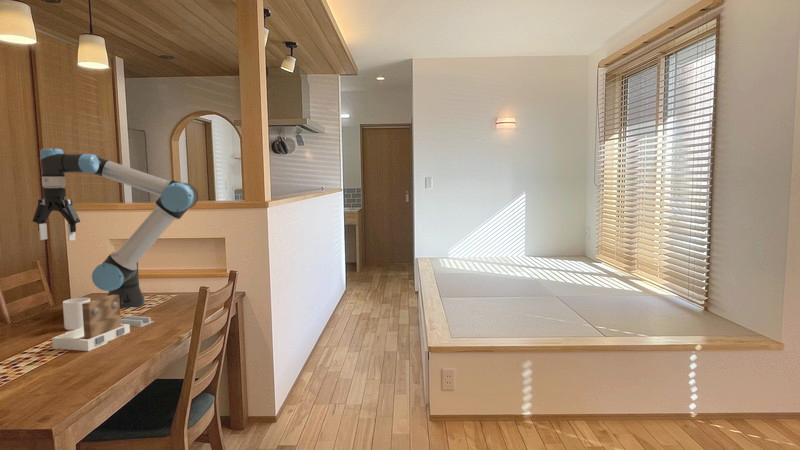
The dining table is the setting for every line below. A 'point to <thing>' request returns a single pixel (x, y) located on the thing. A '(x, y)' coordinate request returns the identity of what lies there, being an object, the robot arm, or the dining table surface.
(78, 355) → the dining table surface
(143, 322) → the rack
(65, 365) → the dining table surface
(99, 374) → the dining table surface
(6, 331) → the dining table surface
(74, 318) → the mug
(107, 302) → the door
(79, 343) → the white tray
